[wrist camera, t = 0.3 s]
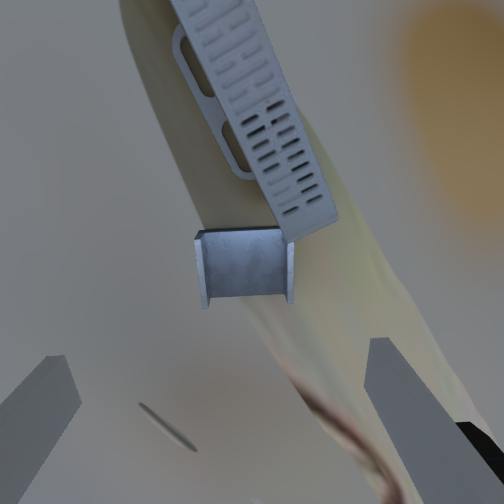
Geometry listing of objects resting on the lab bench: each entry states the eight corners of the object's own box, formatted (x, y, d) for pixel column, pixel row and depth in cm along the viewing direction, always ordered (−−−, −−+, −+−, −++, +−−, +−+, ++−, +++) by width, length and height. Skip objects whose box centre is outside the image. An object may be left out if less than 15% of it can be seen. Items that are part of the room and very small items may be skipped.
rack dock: (199, 230, 38) (193, 239, 34) (288, 225, 38) (294, 234, 34) (206, 293, 41) (202, 308, 37) (288, 288, 41) (293, 303, 37)
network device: (145, 1, 29) (-33, -284, 10) (216, -46, 28) (162, -459, 9) (252, 209, 37) (261, 265, 18) (310, 180, 36) (383, 207, 17)
